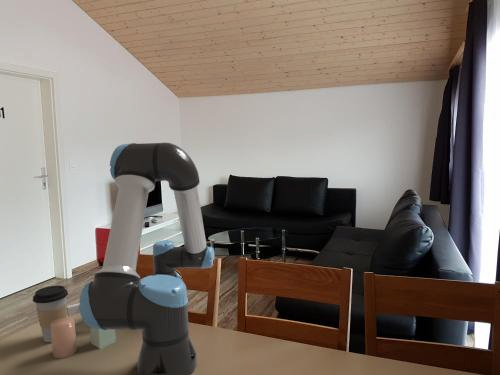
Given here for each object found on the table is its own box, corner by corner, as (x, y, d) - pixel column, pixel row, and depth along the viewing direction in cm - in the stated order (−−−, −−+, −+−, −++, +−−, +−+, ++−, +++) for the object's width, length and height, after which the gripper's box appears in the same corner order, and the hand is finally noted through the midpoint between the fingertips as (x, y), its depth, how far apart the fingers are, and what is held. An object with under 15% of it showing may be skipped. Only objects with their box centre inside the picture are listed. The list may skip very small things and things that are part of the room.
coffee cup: (78, 331, 117) (74, 285, 115) (55, 347, 108) (51, 297, 106) (53, 328, 120) (49, 283, 118) (28, 343, 110) (24, 295, 109)
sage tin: (116, 341, 111) (115, 316, 110) (99, 349, 107) (97, 323, 106) (107, 335, 114) (105, 311, 113) (90, 343, 110) (88, 318, 109)
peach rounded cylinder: (79, 352, 105) (77, 322, 104) (56, 361, 101) (53, 329, 100) (73, 344, 110) (70, 315, 109) (50, 352, 106) (47, 321, 105)
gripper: (148, 306, 126) (74, 330, 111) (132, 295, 136) (62, 315, 121) (147, 285, 126) (72, 306, 110) (131, 275, 135) (60, 293, 120)
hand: (67, 311), depth 116 cm, fingers closed
